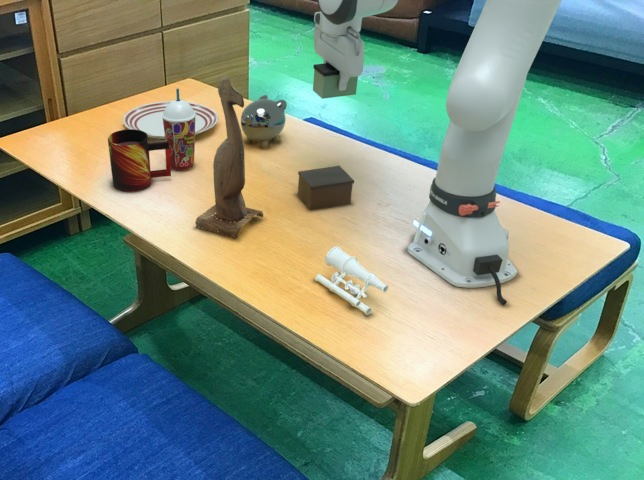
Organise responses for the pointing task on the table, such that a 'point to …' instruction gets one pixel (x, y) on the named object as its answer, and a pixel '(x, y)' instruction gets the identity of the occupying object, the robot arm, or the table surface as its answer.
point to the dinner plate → (152, 121)
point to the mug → (134, 160)
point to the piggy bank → (263, 120)
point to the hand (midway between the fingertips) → (335, 84)
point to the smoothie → (180, 133)
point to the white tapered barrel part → (352, 268)
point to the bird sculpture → (228, 173)
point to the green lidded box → (331, 82)
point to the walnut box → (325, 187)
